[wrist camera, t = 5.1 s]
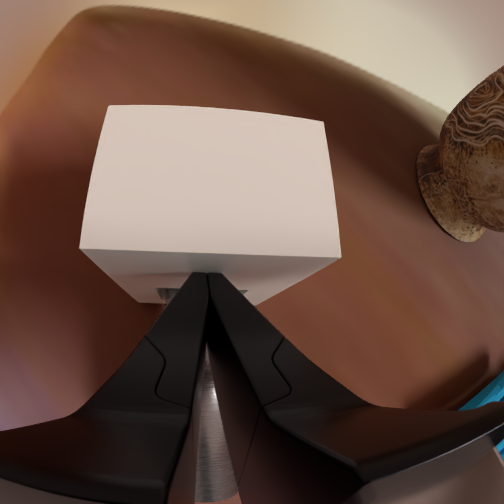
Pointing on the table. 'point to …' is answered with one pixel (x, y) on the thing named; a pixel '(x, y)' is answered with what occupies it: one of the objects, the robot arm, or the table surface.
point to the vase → (468, 164)
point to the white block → (209, 200)
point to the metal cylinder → (211, 443)
